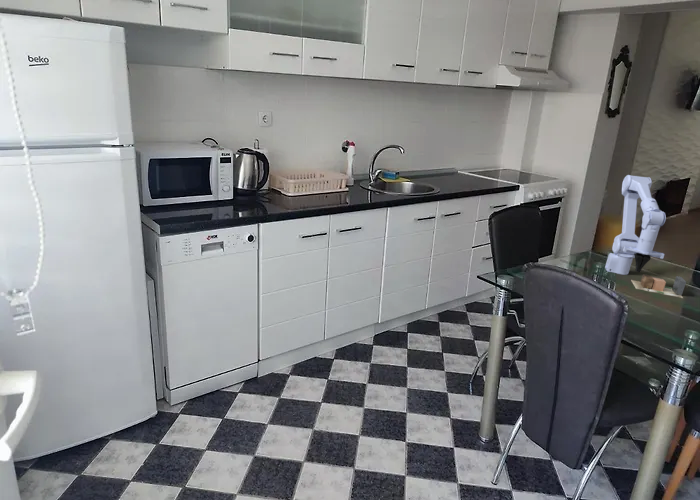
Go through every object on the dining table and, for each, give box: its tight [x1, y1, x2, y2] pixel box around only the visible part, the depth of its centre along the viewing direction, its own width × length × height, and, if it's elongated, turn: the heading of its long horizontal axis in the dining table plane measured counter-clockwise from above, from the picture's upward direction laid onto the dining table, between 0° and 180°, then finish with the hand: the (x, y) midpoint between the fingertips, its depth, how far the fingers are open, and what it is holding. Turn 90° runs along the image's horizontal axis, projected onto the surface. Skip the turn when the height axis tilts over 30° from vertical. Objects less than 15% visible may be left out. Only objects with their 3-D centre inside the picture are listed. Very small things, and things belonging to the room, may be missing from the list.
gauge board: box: [630, 279, 684, 299], centre depth 202 cm, size 17×11×1 cm, turn 71°
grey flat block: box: [671, 275, 687, 297], centre depth 199 cm, size 2×6×7 cm, turn 161°
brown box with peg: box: [640, 273, 654, 289], centre depth 201 cm, size 3×6×4 cm, turn 161°
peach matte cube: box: [651, 276, 667, 291], centre depth 201 cm, size 4×4×4 cm
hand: (637, 271), depth 202 cm, fingers closed
